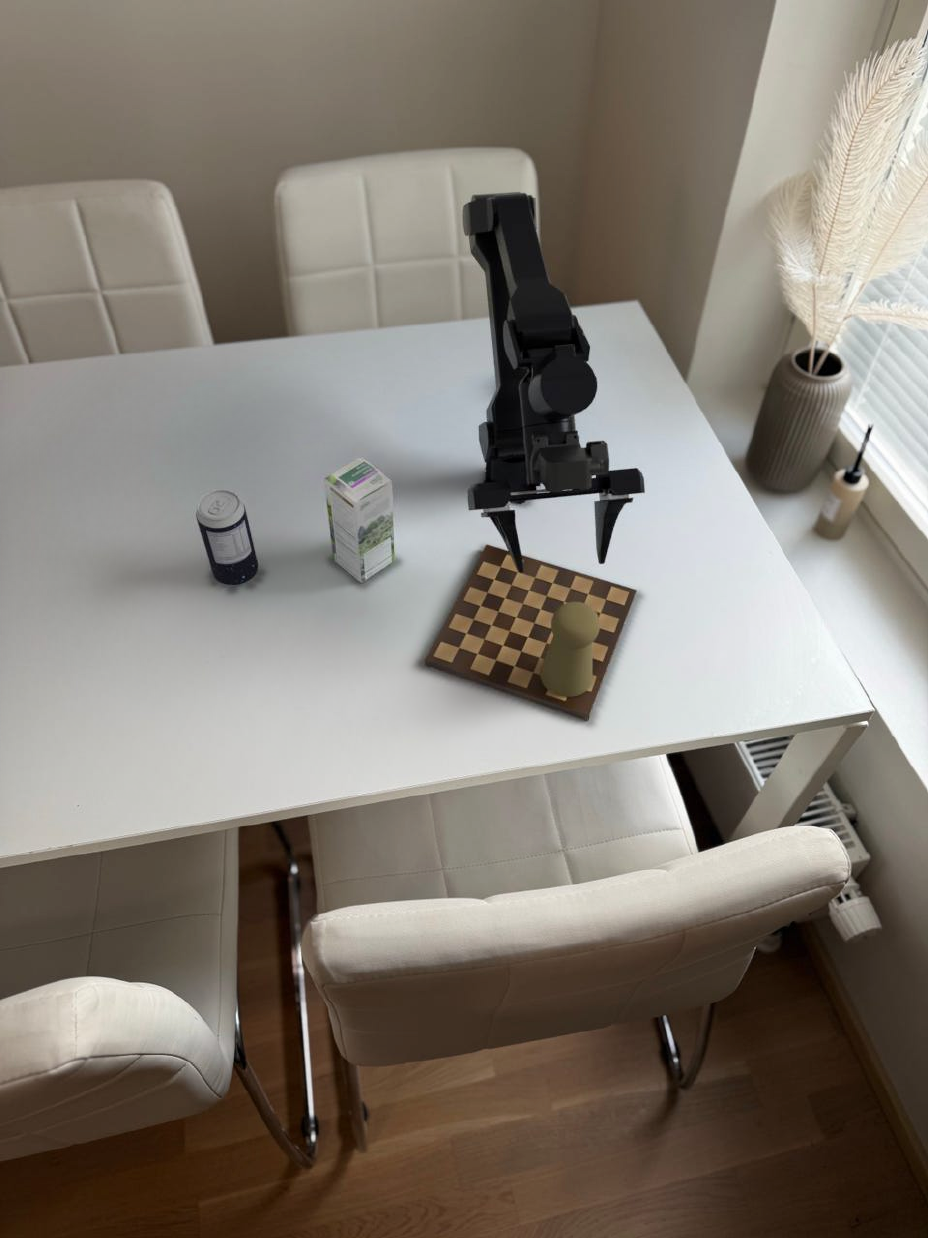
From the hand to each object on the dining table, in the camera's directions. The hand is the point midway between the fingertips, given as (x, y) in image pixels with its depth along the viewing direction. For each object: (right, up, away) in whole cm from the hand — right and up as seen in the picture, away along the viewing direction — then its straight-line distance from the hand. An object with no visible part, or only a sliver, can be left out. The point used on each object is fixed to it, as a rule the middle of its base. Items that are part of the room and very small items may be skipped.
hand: (561, 568), depth 102 cm
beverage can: (-39, 0, +14) cm, 42 cm away
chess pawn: (+1, -12, +4) cm, 13 cm away
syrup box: (-23, +2, +16) cm, 28 cm away
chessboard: (-2, -7, +9) cm, 12 cm away
